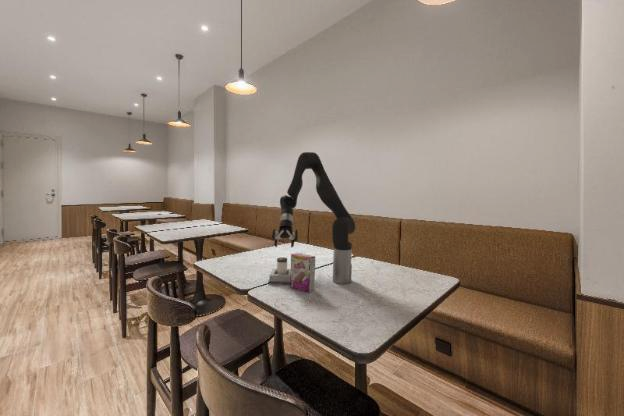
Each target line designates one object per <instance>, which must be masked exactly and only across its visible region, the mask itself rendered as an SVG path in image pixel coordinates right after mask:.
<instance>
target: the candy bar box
mask: <svg viewBox="0 0 624 416" xmlns="http://www.w3.org/2000/svg"><path fill="white" fill-rule="evenodd" d="M290 269H291V277H290V285H289V286H290V288H291V289H295V290H299V291H302V292H305V293H311V292H313V291H314V290H315V276H316V256H315V255H311V254H307V253H302V252H301V253H300V252H294V253H291V254H290Z"/></svg>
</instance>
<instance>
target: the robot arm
mask: <svg viewBox="0 0 624 416" xmlns="http://www.w3.org/2000/svg"><path fill="white" fill-rule="evenodd" d="M306 170H312V173H313V174H314V176H315V179H316V180H315V189H316V193H317V195H318V197H319V199H320V200H321V202H322V203H323V204H324V205H325V206H326V207H327V208H328V209H329V210H330V211H331V212H332V213H333V215H334V216H335V219H334V221H333V223H332V225H331V226H332V228H331V234H332V235H331V237H332V239H331V241H332V244H333V256H332V257H333V259H332V260H333V261H332V282H333V283H336V284H339V285H340V284H341V285H346V284H351V283H352V273H353V272H352V271H353V270H352V268H353V265H352V252H353V251H352V249H353V248H352V247H353V243H351V242H350V241H349V235H351V234H353V233H354V232H355V230H356V223H355V221H354V219H353V217H352V216H351V214H350V213H349V212H348V210H347V209H346V207H345V206H344V203H343V202H342V200H341V198H340V196H339V194H338V192H337V191H336V189H335V187H334V185H333V184H332V182H331V180H330V178H329V176H328V174H327V172H326V170H325V168H324V165H323V163H322V160H321V158H320V156H319V155H318V154H317V153H316V152H313V151H311V152H310V151H308V152H307V151H306V152H305V151H304V152H300V154H299V156H298V158H297V162H296V165H295V168H294V173H293V177H292V180H291V182H290V185H289V187H288V188H287V192H286V193H287V194H283V195H281V197H280V199H279V205H280V210H281V211H280V212H281V213H280V219H279V226H278V227H279V228H278V230H276V229H273V230H272V235H271V240H272V241H274V246H275V248H278V242H279V240H281V239H289V240H290V248H293V247H294V246H295V242H298V236H299V235H298V230H297V229H295V230H293V223H294V210H293V209H296V207H297V204H298V203H297V202H298V197H299V194H300V192H301V191H302V187H303V175H304V173H305V171H306ZM276 235H277V236H276ZM293 235H294V236H293Z"/></svg>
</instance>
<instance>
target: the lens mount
mask: <svg viewBox="0 0 624 416" xmlns="http://www.w3.org/2000/svg"><path fill="white" fill-rule="evenodd" d="M290 277H291V268H287V275H283V274H277V268H272V270H271V272H270V273H269V279H268V281H267V284H268V285H287V286H288V285H289V286H290Z"/></svg>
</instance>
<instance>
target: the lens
mask: <svg viewBox="0 0 624 416" xmlns="http://www.w3.org/2000/svg"><path fill="white" fill-rule="evenodd" d="M276 269H277V274H283V275H287V269H288V258H287V257H281V256H280V257H277V258H276Z"/></svg>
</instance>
